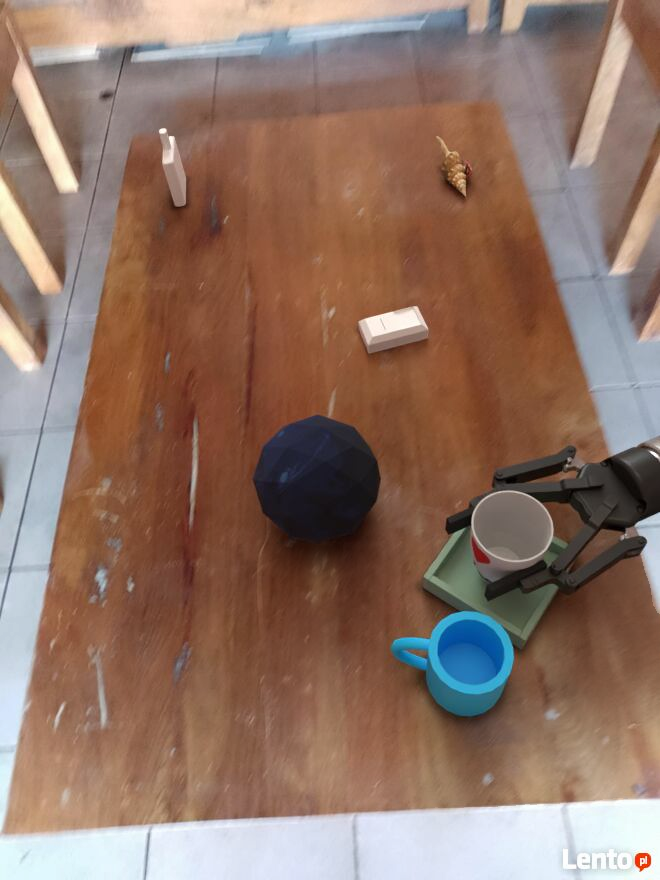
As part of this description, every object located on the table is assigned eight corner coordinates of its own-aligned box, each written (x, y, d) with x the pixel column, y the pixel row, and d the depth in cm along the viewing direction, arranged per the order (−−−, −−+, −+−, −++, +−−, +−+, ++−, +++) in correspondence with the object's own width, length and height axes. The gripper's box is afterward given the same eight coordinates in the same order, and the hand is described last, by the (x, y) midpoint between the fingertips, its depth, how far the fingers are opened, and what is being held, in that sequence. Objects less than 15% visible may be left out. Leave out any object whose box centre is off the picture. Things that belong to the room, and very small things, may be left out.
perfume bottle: (175, 179, 130) (157, 118, 120) (186, 178, 130) (169, 116, 120) (174, 207, 126) (155, 145, 116) (186, 205, 126) (167, 144, 116)
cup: (461, 534, 83) (468, 490, 75) (532, 534, 82) (547, 490, 74) (466, 600, 79) (474, 561, 70) (541, 601, 78) (558, 562, 70)
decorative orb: (232, 552, 80) (300, 490, 70) (233, 442, 89) (294, 373, 79) (338, 574, 87) (414, 520, 77) (329, 470, 96) (397, 410, 86)
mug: (508, 648, 77) (518, 620, 71) (498, 725, 73) (508, 703, 66) (399, 623, 80) (398, 595, 73) (383, 696, 75) (381, 673, 69)
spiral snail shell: (488, 189, 122) (492, 166, 118) (464, 201, 120) (467, 177, 117) (438, 153, 129) (440, 130, 125) (415, 163, 127) (417, 140, 124)
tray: (574, 561, 82) (580, 550, 80) (521, 650, 77) (525, 640, 75) (478, 507, 87) (480, 495, 85) (422, 587, 82) (422, 576, 80)
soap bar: (358, 329, 106) (358, 317, 103) (416, 315, 106) (417, 302, 104) (368, 353, 103) (368, 341, 101) (428, 338, 104) (428, 325, 101)
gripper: (703, 569, 76) (514, 659, 72) (588, 428, 87) (420, 499, 83) (730, 537, 69) (525, 634, 66) (603, 389, 81) (422, 464, 77)
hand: (467, 558), depth 74 cm, fingers closed on cup, 8 cm apart
